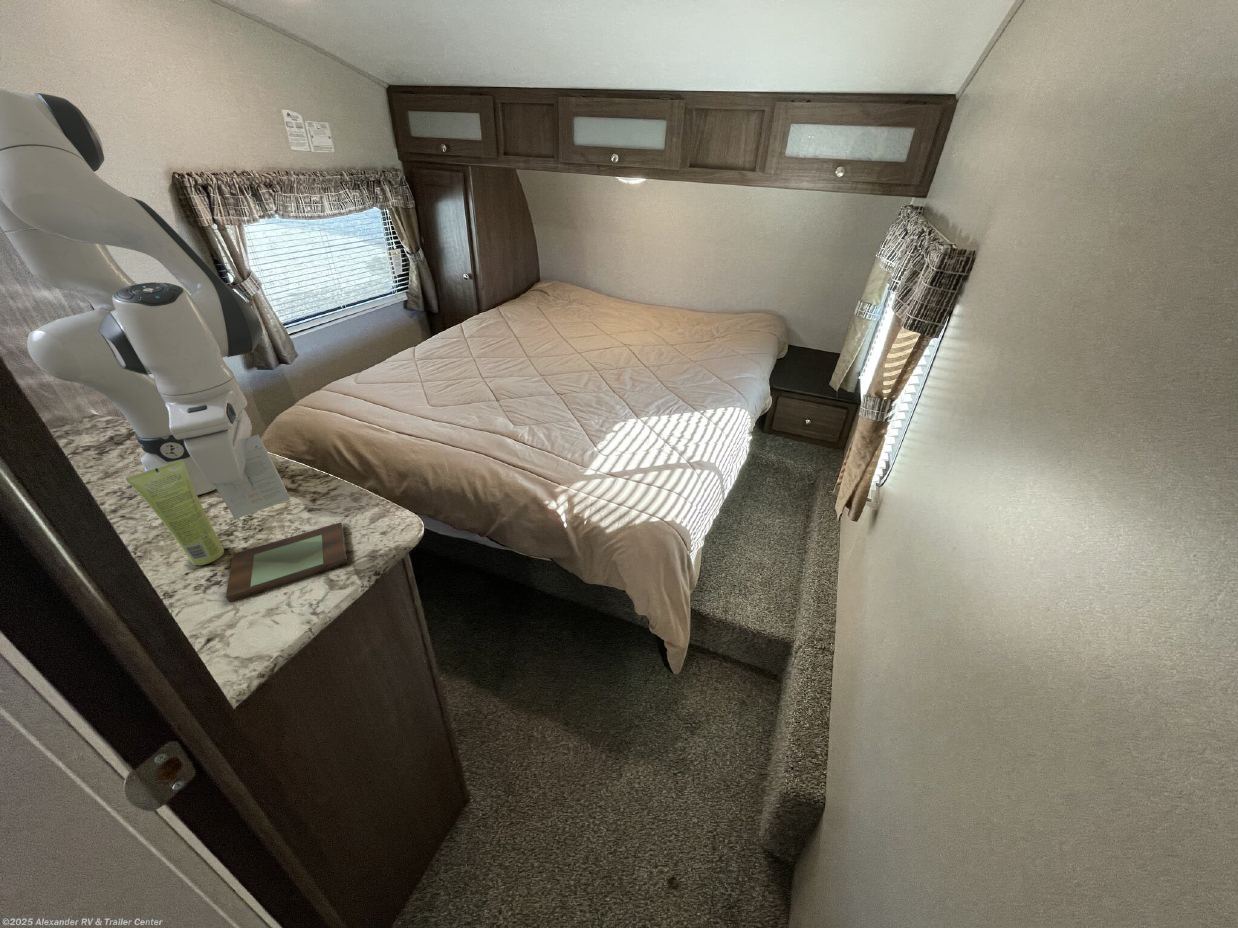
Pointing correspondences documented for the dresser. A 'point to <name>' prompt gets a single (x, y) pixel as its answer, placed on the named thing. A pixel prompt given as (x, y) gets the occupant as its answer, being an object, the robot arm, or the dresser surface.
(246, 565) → the walnut board
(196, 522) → the tube
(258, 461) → the small box
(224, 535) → the dresser surface
